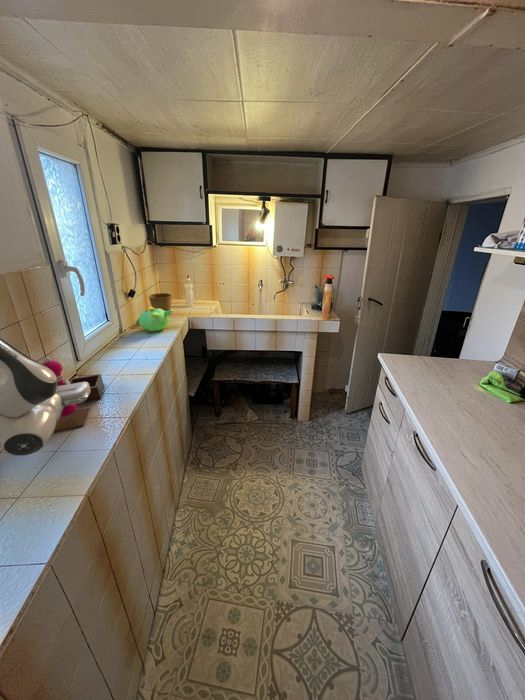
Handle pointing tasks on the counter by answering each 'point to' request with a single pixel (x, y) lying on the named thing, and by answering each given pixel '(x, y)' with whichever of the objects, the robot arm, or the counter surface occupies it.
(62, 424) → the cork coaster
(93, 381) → the mill holder
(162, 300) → the plant pot
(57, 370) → the pepper mill
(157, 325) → the toy bird
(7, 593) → the counter surface
